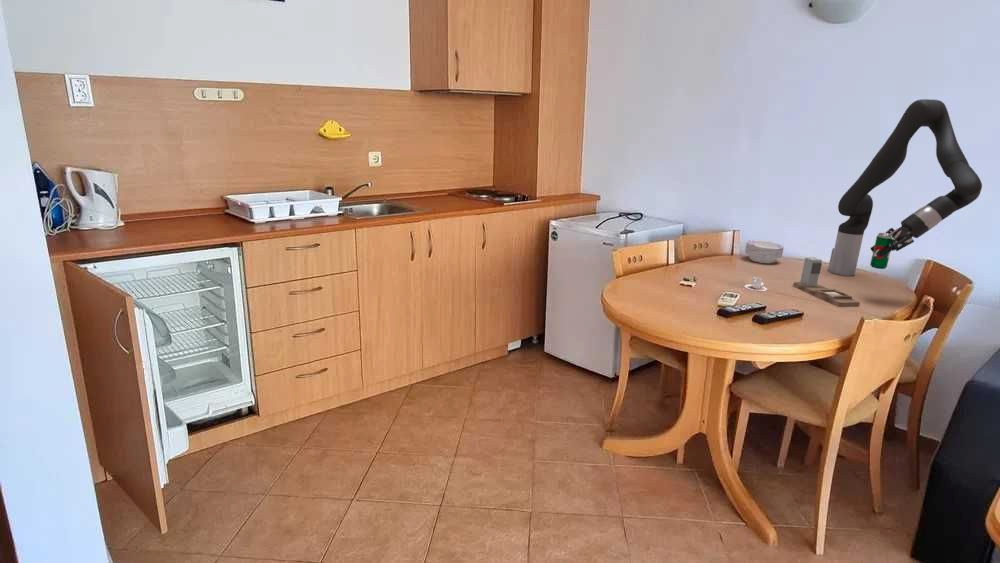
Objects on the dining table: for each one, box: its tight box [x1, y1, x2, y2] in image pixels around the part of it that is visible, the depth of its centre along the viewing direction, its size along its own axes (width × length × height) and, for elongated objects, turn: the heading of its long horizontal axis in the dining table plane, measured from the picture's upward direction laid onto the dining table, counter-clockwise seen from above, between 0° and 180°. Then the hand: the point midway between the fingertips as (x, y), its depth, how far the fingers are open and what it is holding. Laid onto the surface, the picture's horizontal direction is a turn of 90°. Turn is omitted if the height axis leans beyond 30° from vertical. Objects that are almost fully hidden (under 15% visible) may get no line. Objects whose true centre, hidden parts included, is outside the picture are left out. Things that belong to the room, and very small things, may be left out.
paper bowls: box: [744, 239, 784, 264], centre depth 263 cm, size 15×15×8 cm
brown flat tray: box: [792, 281, 861, 308], centre depth 216 cm, size 24×8×2 cm, turn 11°
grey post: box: [799, 256, 823, 286], centre depth 223 cm, size 5×4×10 cm
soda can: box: [869, 232, 893, 270], centre depth 208 cm, size 5×5×12 cm
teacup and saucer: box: [744, 277, 768, 292], centre depth 222 cm, size 9×8×4 cm
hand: (875, 252), depth 209 cm, fingers closed on soda can, 5 cm apart
